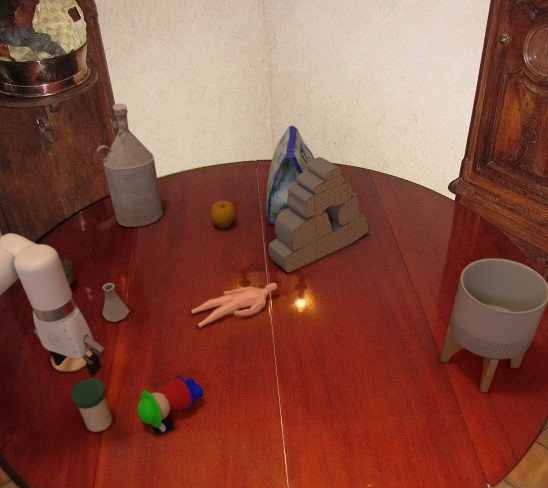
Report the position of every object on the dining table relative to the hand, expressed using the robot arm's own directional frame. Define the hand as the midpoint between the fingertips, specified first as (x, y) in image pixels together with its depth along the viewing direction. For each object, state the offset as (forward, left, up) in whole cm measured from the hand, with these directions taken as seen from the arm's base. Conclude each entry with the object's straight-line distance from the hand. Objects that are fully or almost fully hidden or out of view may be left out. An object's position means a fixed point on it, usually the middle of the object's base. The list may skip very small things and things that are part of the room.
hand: (78, 366), depth 118 cm
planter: (+94, +4, -19) cm, 96 cm away
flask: (+1, +37, -19) cm, 42 cm away
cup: (-15, +51, -19) cm, 57 cm away
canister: (+5, +86, -19) cm, 88 cm away
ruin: (+63, +59, -19) cm, 88 cm away
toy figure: (+17, 0, -19) cm, 26 cm away
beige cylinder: (0, 0, -19) cm, 19 cm away
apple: (+34, +76, -19) cm, 86 cm away
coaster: (-9, +22, -19) cm, 31 cm away
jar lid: (0, 0, -9) cm, 9 cm away
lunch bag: (+58, +83, -19) cm, 103 cm away
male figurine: (+35, +34, -19) cm, 52 cm away
